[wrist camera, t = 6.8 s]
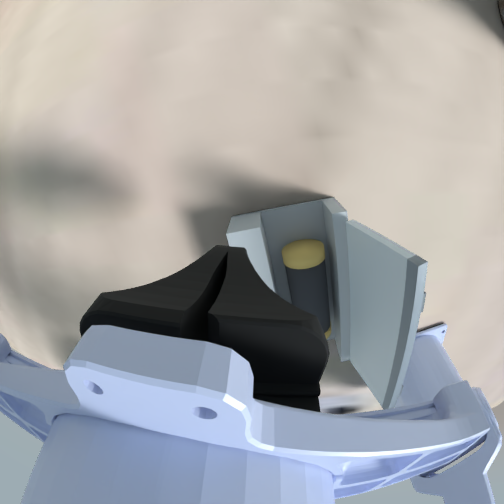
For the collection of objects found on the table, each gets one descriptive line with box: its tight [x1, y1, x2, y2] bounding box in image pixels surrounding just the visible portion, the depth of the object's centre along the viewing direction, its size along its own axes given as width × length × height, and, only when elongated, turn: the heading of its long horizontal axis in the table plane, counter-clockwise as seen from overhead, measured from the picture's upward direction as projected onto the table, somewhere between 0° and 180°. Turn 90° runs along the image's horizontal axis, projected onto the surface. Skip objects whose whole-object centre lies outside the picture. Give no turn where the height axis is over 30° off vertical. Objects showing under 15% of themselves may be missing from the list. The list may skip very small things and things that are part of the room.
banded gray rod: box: [282, 239, 331, 339], centre depth 21 cm, size 8×3×3 cm
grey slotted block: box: [226, 197, 350, 362], centre depth 21 cm, size 14×8×4 cm, turn 13°
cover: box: [346, 220, 428, 409], centre depth 16 cm, size 13×7×1 cm
